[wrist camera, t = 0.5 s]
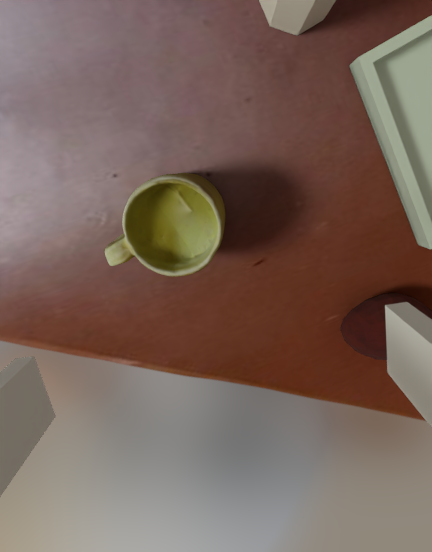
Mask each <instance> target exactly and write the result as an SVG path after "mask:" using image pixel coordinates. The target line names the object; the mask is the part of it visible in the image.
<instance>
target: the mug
mask: <svg viewBox="0 0 432 552" xmlns="http://www.w3.org/2000/svg"><path fill="white" fill-rule="evenodd" d="M122 224H123V230H124V234H122V235H121V236H119V237H118V238H117V239H116V240H115V241H113V242H111V243H110V244H108V245H107V247H106V249H105V256H106V258H107V261H108V263H109V265H110V266H115V265H119V264H122V263H124V262H127V261H129V260H130V259H131V258H132V257H134V256H136V257H137V258H138V259H139V261H140V262H141V263H142V264H143V265H145V266H146V267H147V268H149V269H150V270H152V271H154V272H157V273H159V274H162V275H166V276H173V277H176V276H186V275H190V274H192V273H195V272H197V271H200V270H201V269H203V268H204V267H205V266H207V265H208V264H209V263H210V262H211V260H212V259H213V257H214V255H215V253H216V251H217V250H218V248H219V246H220V244H221V241H222V238H223V234H224V226H225V206H224V203H223V200H222V197H221V195H220V194H219V192H218V191H217V189H216V188H215V187H214V185H213V184H212V183H211V182H209V181H208V180H206V179H205V178H203V177H201V176H199V175H196V174H190V173H178V174H166V175H161V176H158V177H155V178H152V179H150V180H148V181H147V182H145V183H144V184H142V185H141V186H139V187H138V188H137V189H136V190H135V191H134V192H133V194H132V195H131V196H130V198H129V200H128V202H127V204H126V207H125V210H124V212H123V222H122Z"/></svg>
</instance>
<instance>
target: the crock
mask: <svg viewBox="0 0 432 552" xmlns="http://www.w3.org/2000/svg"><path fill="white" fill-rule="evenodd" d="M335 1H336V0H259V2H260V4H261V6H262V9H263V11H264V13H265V16H266V18H267V20H268V23H269V25H270V27H273V28H276V29H279V30H282V31H285V32H288V33H291V34H294V35H297V36H298V35H299V34H301V33H303V32H304V31H306V30H308V29H309V28H311V27H313V26H314V25H316V24H318V23H319V22H321V21H323V20H324V18H325V17H326V15H327V14H328V12H329V11H330V9H331V7H332V6H333V4H334V3H335Z"/></svg>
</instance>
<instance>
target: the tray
mask: <svg viewBox="0 0 432 552" xmlns="http://www.w3.org/2000/svg"><path fill="white" fill-rule="evenodd" d="M349 67H350V69H351V72H352V74H353V77H354V80H355V82H356V85H357V87H358V90H359V93H360V95H361V98H362V100H363V103H364V106H365V108H366V111H367V113H368V116H369V119H370V121H371V124H372V126H373V129H374V132H375V134H376V137H377V139H378V142H379V145H380V147H381V150H382V152H383V155H384V158H385V160H386V163H387V165H388V168H389V171H390V173H391V176H392V178H393V181H394V184H395V186H396V189H397V191H398V194H399V197H400V199H401V202H402V204H403V207H404V210H405V212H406V215H407V217H408V220H409V222H410V225H411V228H412V230H413V233H414V235H415V238H416V241H417V243H418V245H420V246H423V247H426V248H428V249H432V15H431V16H430V17H428V18H426V19H424V20H423V21H421V22H419V23H417V24H416V25H414V26H412V27H410V28H409V29H407V30H405V31H403V32H402V33H400V34H398V35H396V36H395V37H393V38H391V39H389V40H388V41H386V42H384V43H382V44H381V45H379V46H377V47H375V48H374V49H372V50H370V51H369V52H367V53H365V54H363V55H362V56H360V57H358V58H357V59H356V60H355V61H354V62H352V63H351V64H350V65H349Z"/></svg>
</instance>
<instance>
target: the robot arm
mask: <svg viewBox="0 0 432 552" xmlns="http://www.w3.org/2000/svg"><path fill="white" fill-rule="evenodd" d="M385 318H386V345H387V372H388V374H389V375H390V376H391V378H392V379H393V380H394V381H395V383H396V384H397V385H398V386H399V388H400V389H401V390H402V391H403V392H404V394H405V395H406V396H407V397H408V399H409V400H410V401H411V402H412V404H413V405H414V406H415V407H416V409H417V410H418V411H419V412H420V414H421V415H422V416H423V417H424V419H425V420H426V421H427V422H428V424H429V425H430V426H431V427H432V319H430V318H429V317H427V316H426V315H425V314H423V313H422V312H420V311H419V310H418V309H416V308H415V307H414V306H412V305H411V304H409V303H408V302H403V303H396V304H389V305H385ZM54 418H55V414H54V411H53V408H52V405H51V402H50V400H49V396H48V394H47V391H46V388H45V385H44V382H43V380H42V377H41V374H40V371H39V368H38V366H37V363H36V360H35V357H34V356H32V357H25V358H18V359H15V360H13V361H12V362H11V363H10V364H9V365H8V366H7V367H6V368H5V369H4V370H2V371H1V372H0V496H1V495H2V493H3V492H4V490H5V489H6V488H7V486H8V485H9V483H10V482H11V480H12V479H13V477H14V476H15V475H16V473H17V472H18V470H19V469H20V467H21V466H22V464H23V463H24V461H25V460H26V459H27V457H28V456H29V454H30V453H31V451H32V450H33V448H34V447H35V445H36V444H37V443H38V441H39V440H40V438H41V437H42V435H43V434H44V432H45V431H46V430H47V428H48V427H49V425H50V424H51V422H52V420H53V419H54Z"/></svg>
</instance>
